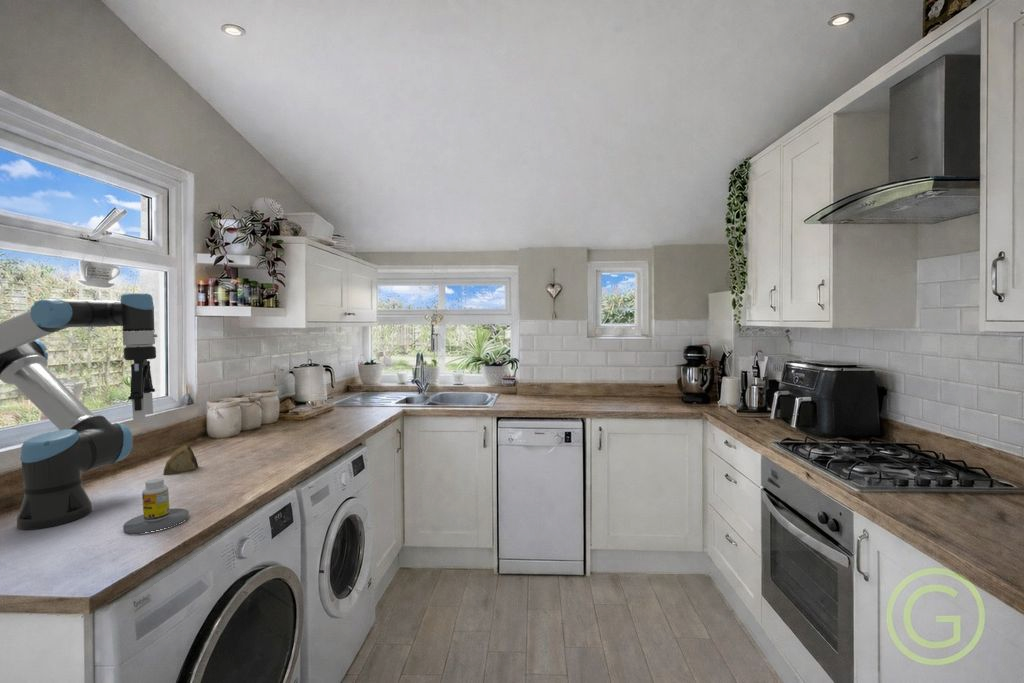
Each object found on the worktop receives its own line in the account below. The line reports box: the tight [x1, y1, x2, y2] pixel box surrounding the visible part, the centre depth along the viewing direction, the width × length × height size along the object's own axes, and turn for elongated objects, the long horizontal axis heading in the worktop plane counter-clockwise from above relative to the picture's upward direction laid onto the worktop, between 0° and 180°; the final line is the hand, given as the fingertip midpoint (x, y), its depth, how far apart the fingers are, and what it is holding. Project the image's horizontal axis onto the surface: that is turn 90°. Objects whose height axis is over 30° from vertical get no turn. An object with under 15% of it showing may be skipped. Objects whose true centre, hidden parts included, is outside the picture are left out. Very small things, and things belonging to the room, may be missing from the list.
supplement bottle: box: [141, 477, 170, 522], centre depth 129 cm, size 6×6×10 cm
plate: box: [122, 507, 190, 535], centre depth 130 cm, size 14×14×1 cm
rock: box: [162, 445, 199, 475], centre depth 178 cm, size 10×8×10 cm
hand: (143, 417), depth 145 cm, fingers open, 13 cm apart
